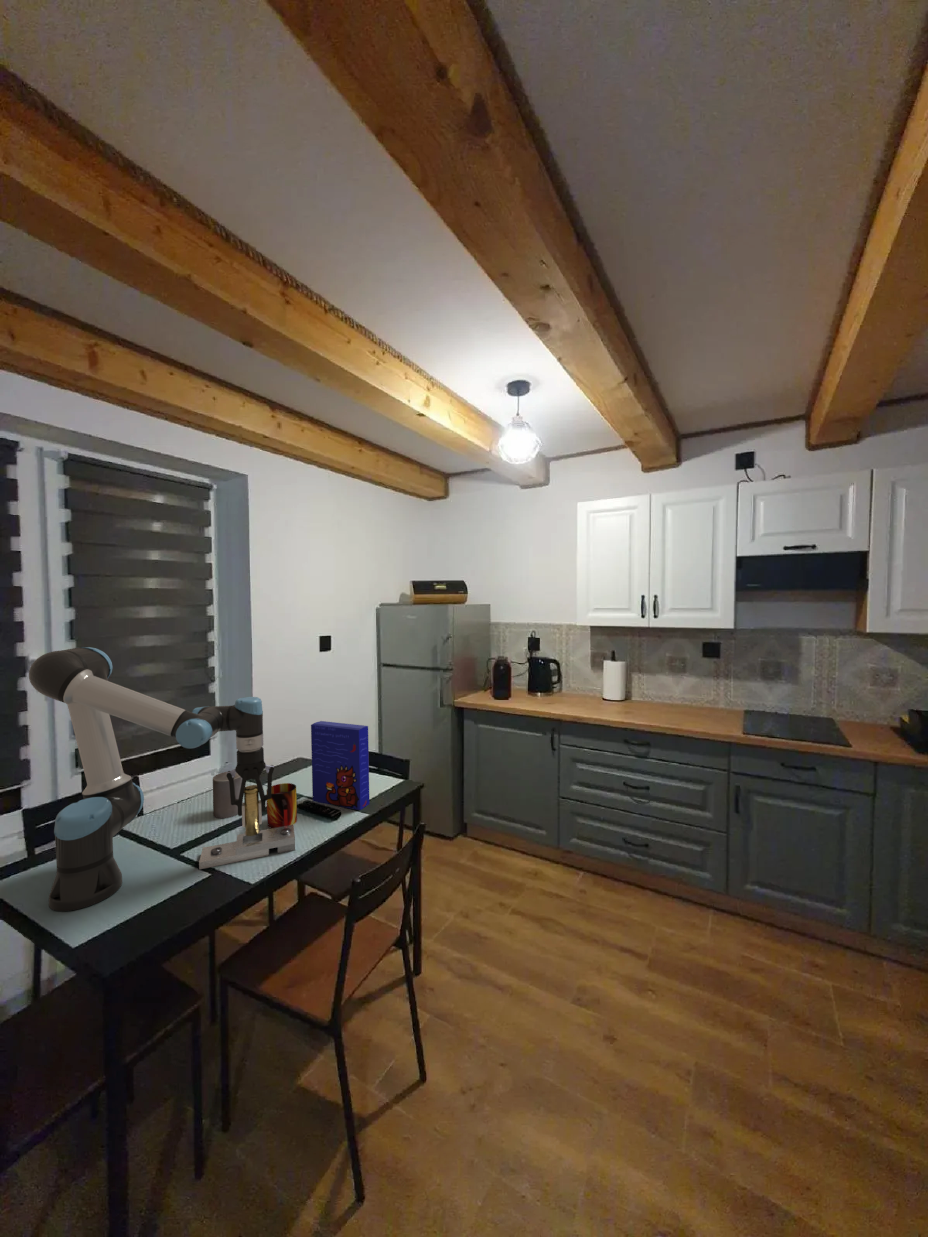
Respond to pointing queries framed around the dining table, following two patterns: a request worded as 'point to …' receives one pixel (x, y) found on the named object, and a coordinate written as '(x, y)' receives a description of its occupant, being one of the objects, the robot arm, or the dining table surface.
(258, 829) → the brass pin
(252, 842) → the slotted metal plate
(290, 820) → the mug
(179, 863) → the dining table surface
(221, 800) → the pillar candle
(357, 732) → the cereal box
